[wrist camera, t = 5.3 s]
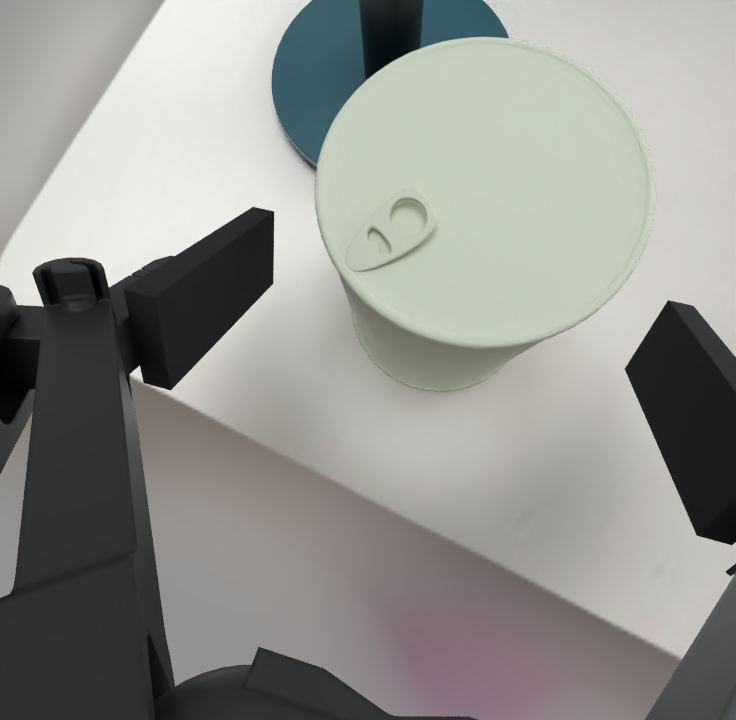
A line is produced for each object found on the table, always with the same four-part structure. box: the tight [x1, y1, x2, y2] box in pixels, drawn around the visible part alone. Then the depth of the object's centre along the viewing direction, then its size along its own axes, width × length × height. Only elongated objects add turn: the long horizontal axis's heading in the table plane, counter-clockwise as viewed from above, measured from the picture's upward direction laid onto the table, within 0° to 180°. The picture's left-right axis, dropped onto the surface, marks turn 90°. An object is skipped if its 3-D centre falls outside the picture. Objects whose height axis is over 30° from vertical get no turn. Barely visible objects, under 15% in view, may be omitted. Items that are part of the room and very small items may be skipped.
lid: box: [272, 0, 509, 167], centre depth 20 cm, size 14×14×10 cm
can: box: [315, 37, 656, 391], centre depth 17 cm, size 9×9×12 cm
